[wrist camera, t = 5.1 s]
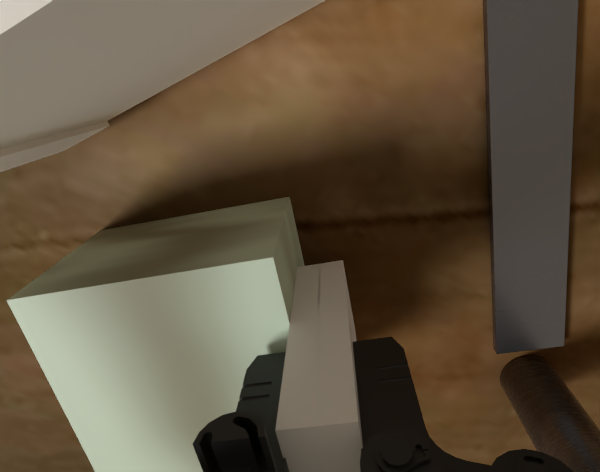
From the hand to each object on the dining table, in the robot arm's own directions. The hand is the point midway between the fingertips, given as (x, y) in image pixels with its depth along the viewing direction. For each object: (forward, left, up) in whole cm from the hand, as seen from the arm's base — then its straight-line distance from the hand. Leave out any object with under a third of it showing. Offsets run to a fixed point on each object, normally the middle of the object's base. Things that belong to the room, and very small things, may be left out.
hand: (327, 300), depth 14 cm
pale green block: (-4, 0, -2) cm, 5 cm away
